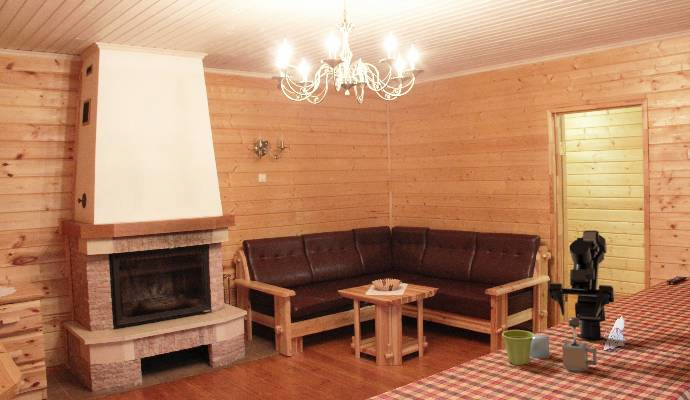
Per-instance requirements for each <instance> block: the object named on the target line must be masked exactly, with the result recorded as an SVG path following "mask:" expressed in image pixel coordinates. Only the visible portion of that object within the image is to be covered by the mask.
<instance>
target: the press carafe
mask: <svg viewBox="0 0 690 400" xmlns="http://www.w3.org/2000/svg"><path fill="white" fill-rule="evenodd" d="M576 343H577V346H574V341H569V340H567V341H564V343H563V345H562V347H561V349H562V366H563V369H564V370H565V371H568V372H572V373H574V372H575V373H580V372H581V373H582V372H587V371H589V366H597V365H598V363H597V348H596V347H595V348H594V347H588V346H589V343H588V342H579V341H576ZM589 353H592V360H589Z"/></svg>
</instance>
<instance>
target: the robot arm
mask: <svg viewBox="0 0 690 400" xmlns="http://www.w3.org/2000/svg"><path fill="white" fill-rule="evenodd" d="M607 247H608V246H607V240H606V238H605V237H603V236H602V235H601V234H600V231H599V230H589V229H588V230H587V229H586V230H584V231H583V232H582V236H581V237H576V239H575V240H574V241H573V242H571V244H570V245H569V253H570V255H571V261H572V263H573V269H570V270H569V271H570V272H569V286H571V287H563V282H561V283H560V282H550V283H549V284H548V286H547V291H548V294H549V297H550V299H551V300H554V301H555V302H557V303H558V305H559V308H560V312H561V316H562V317H563V316H564V315H565V298H564V297H565V295H575V296H576V295H577V300H576V302H575V303H574V312H575V313H574V314H575V317H576V318H580V326H579V327H580V333H579V334H577V333H576V337H578V338H580V339H583V340H586V341H596V340H603V339H605V336H602V330H601V323H603V322H605V321H606V312H605V311H606V309H605V308H604V307H605V306H606V305H610V303H611V304H613V303H615V291H614V286H612V285H603V284H599V285H598V282H599V281H598V280H599V269H600V268H599V267H600V264H601V263H602V262H603V261H604V260H605V254H607V251H608V250H607V249H608V248H607Z"/></svg>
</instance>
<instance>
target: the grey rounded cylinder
mask: <svg viewBox="0 0 690 400" xmlns="http://www.w3.org/2000/svg"><path fill="white" fill-rule="evenodd" d="M533 334H534V333H533ZM550 353H551V352H550V336H549V335H546V334H541V333H540V334H539V333H537V334H536V333H535V334H534V337H533V339H532V342H531V350H530V358H532V359H538V360H542V359H543V360H544V359H549V358H550Z"/></svg>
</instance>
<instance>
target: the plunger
mask: <svg viewBox="0 0 690 400" xmlns="http://www.w3.org/2000/svg"><path fill="white" fill-rule="evenodd" d="M568 326H569V327H572V333H573V334H572V335H573V336H572V338H573V341H572V342H574V346H577V343H576V342H577V327H580V318H576V316H575V317H573V316H572V317H568Z"/></svg>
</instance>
